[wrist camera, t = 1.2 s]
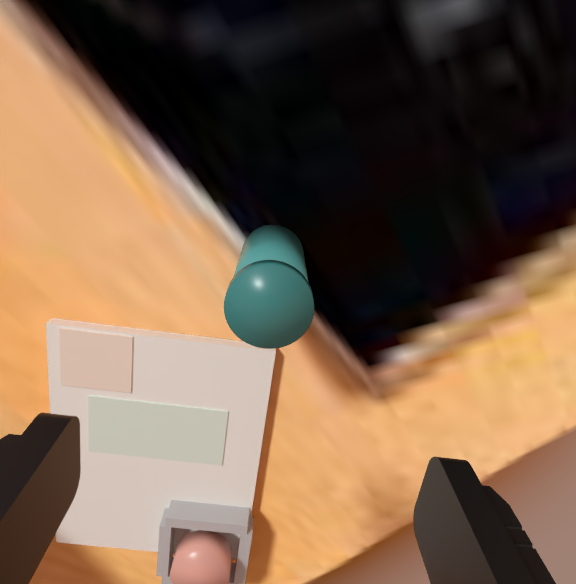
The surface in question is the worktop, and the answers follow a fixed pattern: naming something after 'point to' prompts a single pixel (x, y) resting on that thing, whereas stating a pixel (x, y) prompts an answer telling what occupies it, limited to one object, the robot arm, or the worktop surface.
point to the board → (160, 435)
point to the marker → (270, 290)
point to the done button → (202, 559)
